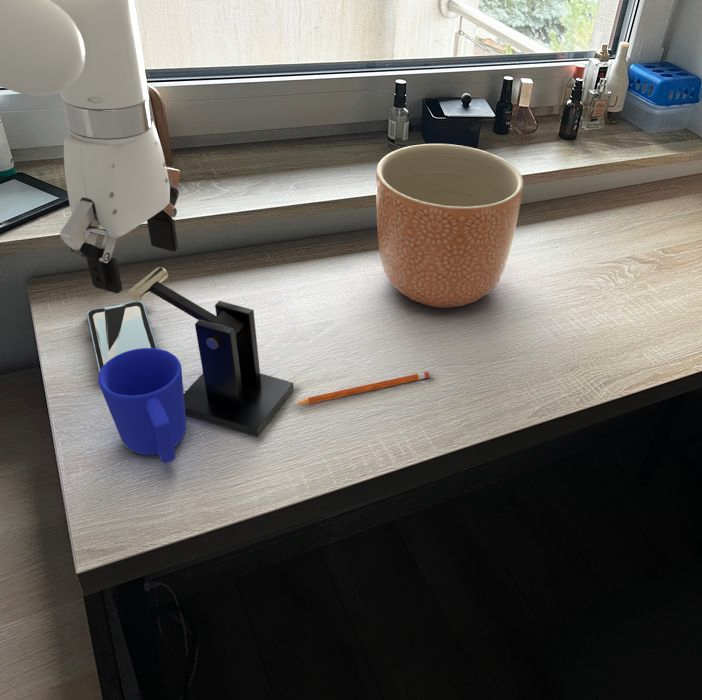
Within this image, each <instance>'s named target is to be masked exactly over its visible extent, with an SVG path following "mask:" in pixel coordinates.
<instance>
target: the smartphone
mask: <svg viewBox="0 0 702 700" xmlns="http://www.w3.org/2000/svg"><path fill="white" fill-rule="evenodd" d="M86 319H87V324H88V329H89V334H90V339H91V342H92V346H93V352H94V356H95V361H96V366H97V371H98V373H99V372H100V370H101V368H102V367H103V366H104V365H105V364H106V363H107V362H108V361H109V360H110V359H112V358H113V357H115V356H117V355H119V354H121V353H124V352H126V351H130V350H134V349H140V348H156V349H159V348H158V343H157V341H156V338H155V335H154V332H153V328H152V325H151V321H150V320H151V319H150V317H149V315H148V312H147V308H146V304H145V303H144V302H143V301H141V300H139V301H136V300H134V301H130V302H125V303H119V304H118V303H117V304H114V305H113V304H112V305H108V306H102V307H97V308H92V309H90V310H88V311H87V312H86Z"/></svg>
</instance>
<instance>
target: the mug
mask: <svg viewBox="0 0 702 700" xmlns="http://www.w3.org/2000/svg"><path fill="white" fill-rule="evenodd" d="M97 383H98V386H99V388H100V390H101V393H102V395H103V398H104V401H105V403H106V406H107V408H108V410H109V412H110V415H111V418H112V420H113V423H114V426H115V427H116V430H117V432H118V435H119V437H120V439H121V441H122V443H123V444H124V446H125V447H127V449H129V450H130V451H131V452H133V453H136V454H139V455H143V456H144V455H146V456H151V455H159V456H158V457H159V459H160V461H161V463H163V464H168V463H171V462H173V461H175V459H176V451H175V447H176V446H177V445H179V443H180V442H181V441H182V440H183V438H184V436H185V433H186V429H187V417H186V416H187V415H185V404H184V393H185V391H184V380H183V370H182V364H181V361H180V360H179V358H178V357H177V356H176V355H175V354H173V353H172V352H171V351H168V350H165V349H161V348H158V349H156V348H140V349H134V350H130V351H126V352H124V353H121V354H119V355H117V356H115V357H113V358H112V359H110V360H109V361H108V362H107V363H106V364H105V365H104V366H103V367H102V368H101V370H100V372H99V371H98V376H97Z"/></svg>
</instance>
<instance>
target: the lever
mask: <svg viewBox="0 0 702 700" xmlns="http://www.w3.org/2000/svg"><path fill="white" fill-rule="evenodd" d="M168 278H169V273H168V271H167V270H166V269H165V268H164V267H162V266H158V267H156V268H155V269H154V270H152V271H151V272H149V274H147V275H146V276H144V277H143V278H142V279H141V280H140V281H138V282H137V283H136V284H135V285H133V286H132V287H130V288H129V290H128V295H129V297H130V298H131V299H132V300H134V301H141V300H142V299H144V298H145V297H146V296H148V294H150V293H151V294H153V295H155V296H156V297H158V298H160V299H161V300H162V301H165V302H167V303H168V304H170V305H172V306H174V307H175V308H177V309H179V311H182V312H184V313H185V314H187V315H189V316H190V317H192V318H194V319H195V320H197V321H199V320H204V321H207V322H211V323H215V324H218V325H222V326H226V327H229V328H233V329H235V334H236V340H237V339H238V338H239V337H240V335H241V332H242V329H243V326H244V323H242V322H241V321H239V320H237V319H236V318H234V317H232V316H231V315H229V314H227V313H226V312H224V311H223V312H222V313H221V314H220V315H219V316H218V317H217V316H216V314H213V312H210V311H209V310H207V309H205V308H203V307H202V306H200V305H198V304H197V303H195V302H193V301H192V300H190V299H189V298H187V297H185V296H183V295H181V294H180V293H178V292H177V291H175V290H173V289H171V288H170V287H168V286H166V285H165V284H164V283H163V282H164V281H166V280H167V279H168Z"/></svg>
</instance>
